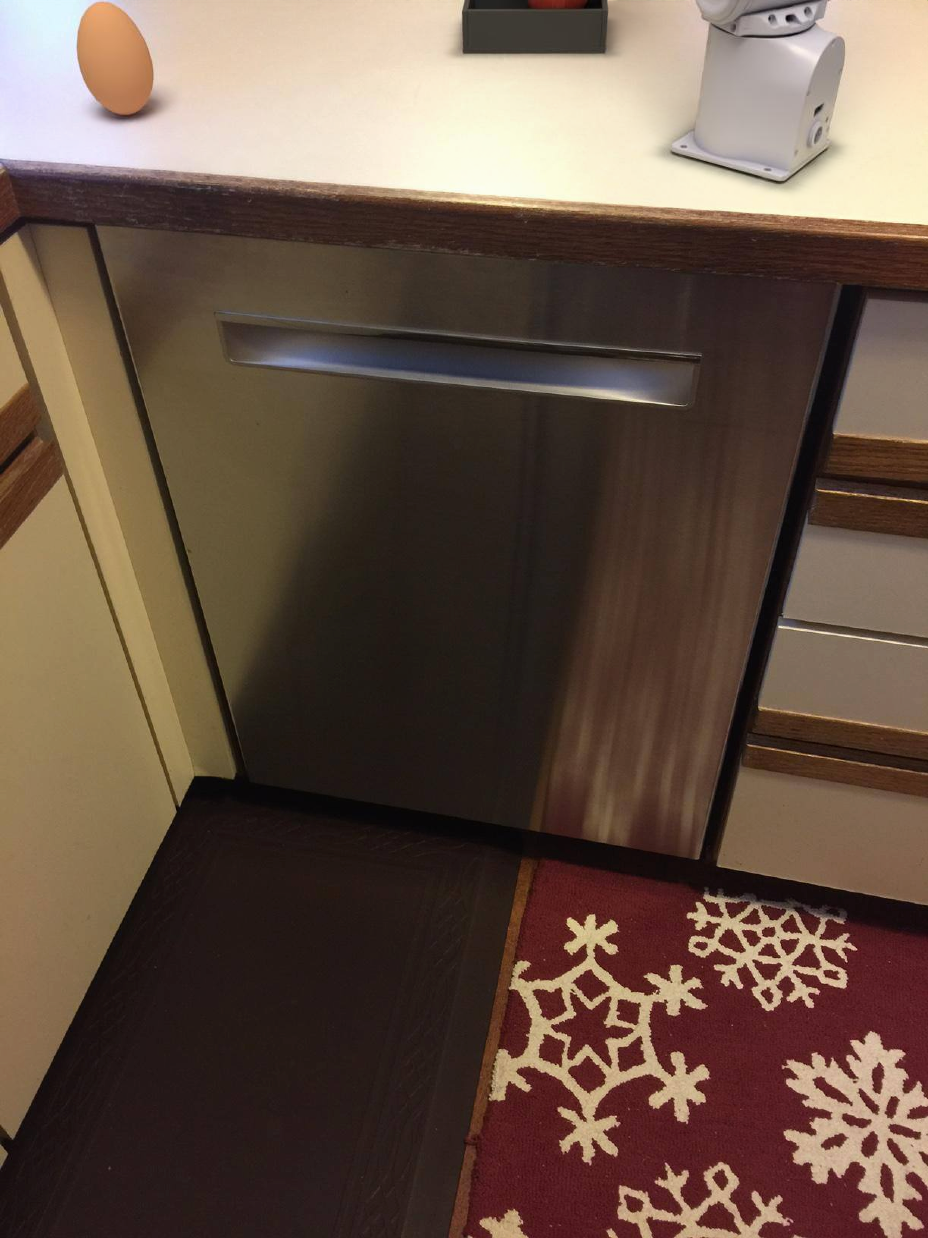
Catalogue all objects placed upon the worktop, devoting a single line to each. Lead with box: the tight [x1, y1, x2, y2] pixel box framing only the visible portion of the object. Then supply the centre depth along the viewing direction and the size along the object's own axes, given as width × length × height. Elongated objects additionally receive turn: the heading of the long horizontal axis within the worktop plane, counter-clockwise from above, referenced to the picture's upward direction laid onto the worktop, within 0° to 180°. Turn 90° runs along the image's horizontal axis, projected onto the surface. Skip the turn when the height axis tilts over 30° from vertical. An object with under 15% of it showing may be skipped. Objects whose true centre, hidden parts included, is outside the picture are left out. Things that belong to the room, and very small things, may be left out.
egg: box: [76, 0, 155, 116], centre depth 84 cm, size 6×6×8 cm
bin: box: [461, 0, 609, 54], centre depth 96 cm, size 13×8×4 cm, turn 86°
